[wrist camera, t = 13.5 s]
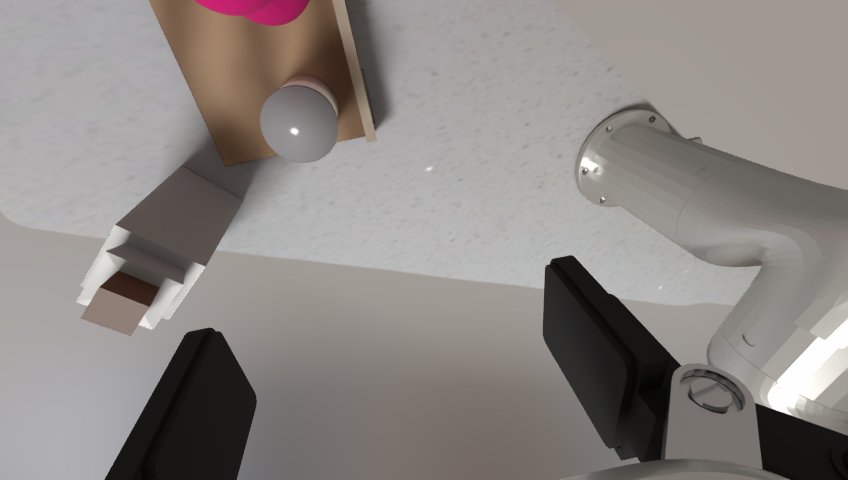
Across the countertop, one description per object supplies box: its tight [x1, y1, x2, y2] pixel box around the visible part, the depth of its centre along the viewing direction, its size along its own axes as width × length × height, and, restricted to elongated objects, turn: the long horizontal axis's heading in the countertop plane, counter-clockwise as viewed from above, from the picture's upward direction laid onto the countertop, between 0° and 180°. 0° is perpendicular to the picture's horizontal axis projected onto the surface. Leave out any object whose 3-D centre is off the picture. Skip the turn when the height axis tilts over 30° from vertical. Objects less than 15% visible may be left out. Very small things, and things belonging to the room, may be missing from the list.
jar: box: [260, 75, 338, 163], centre depth 35 cm, size 6×6×8 cm
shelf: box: [149, 0, 377, 166], centre depth 34 cm, size 16×20×4 cm
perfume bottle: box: [76, 166, 243, 336], centre depth 35 cm, size 7×7×18 cm
